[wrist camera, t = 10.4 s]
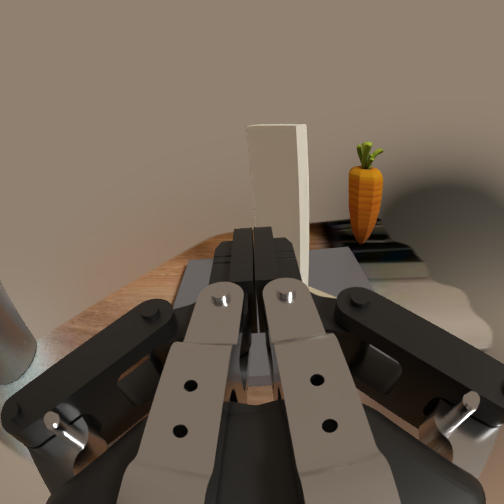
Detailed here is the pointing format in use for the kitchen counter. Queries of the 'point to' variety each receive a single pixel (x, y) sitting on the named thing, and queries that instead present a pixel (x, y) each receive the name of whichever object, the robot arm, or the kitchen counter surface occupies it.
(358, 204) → the carrot
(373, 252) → the kitchen counter surface
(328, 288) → the gauge dial plate
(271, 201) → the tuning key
